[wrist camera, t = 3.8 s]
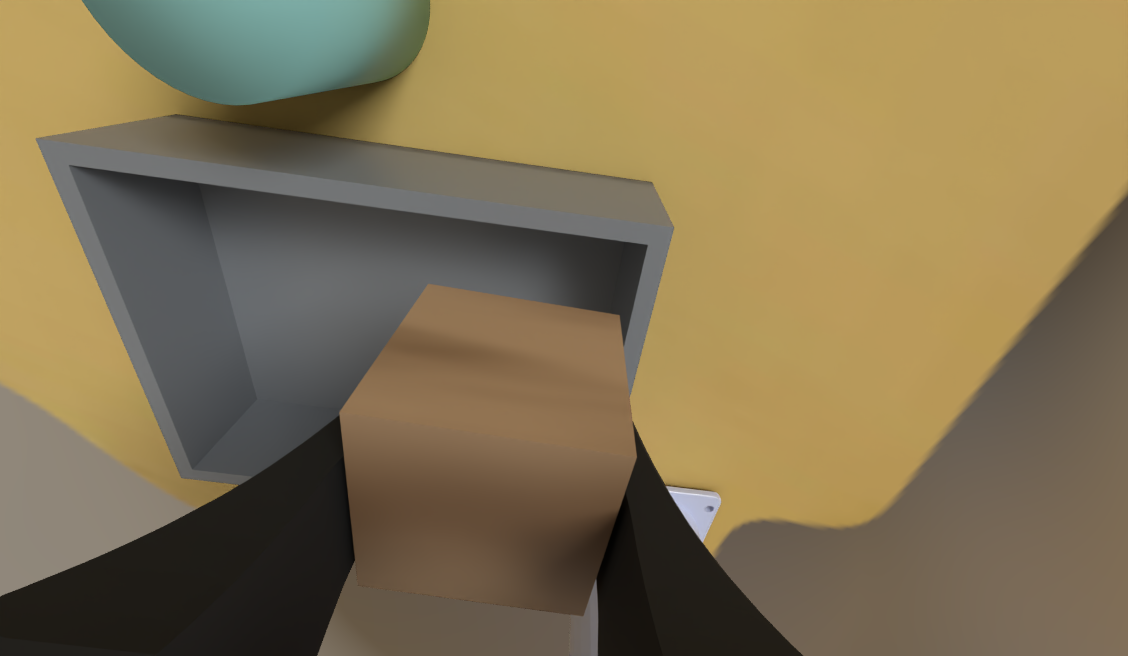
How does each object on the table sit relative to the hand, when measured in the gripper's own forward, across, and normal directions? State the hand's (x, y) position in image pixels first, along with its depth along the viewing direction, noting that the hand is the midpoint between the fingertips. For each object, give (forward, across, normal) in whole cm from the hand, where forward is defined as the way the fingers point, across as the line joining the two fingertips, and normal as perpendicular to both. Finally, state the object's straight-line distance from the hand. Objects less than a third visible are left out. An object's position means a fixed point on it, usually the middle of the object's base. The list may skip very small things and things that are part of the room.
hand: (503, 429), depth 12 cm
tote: (+9, +5, +2) cm, 10 cm away
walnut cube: (+2, 0, 0) cm, 2 cm away
